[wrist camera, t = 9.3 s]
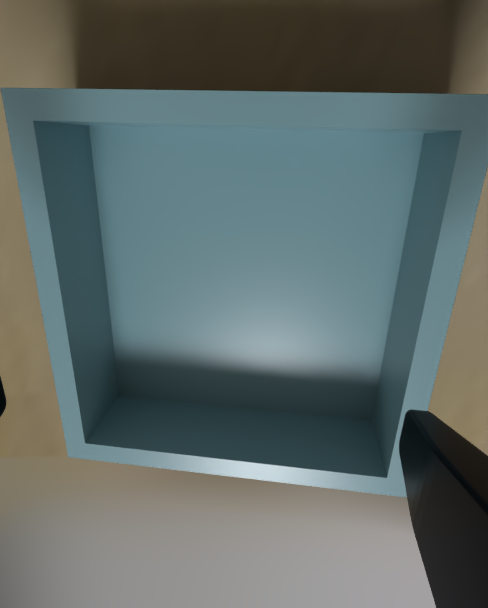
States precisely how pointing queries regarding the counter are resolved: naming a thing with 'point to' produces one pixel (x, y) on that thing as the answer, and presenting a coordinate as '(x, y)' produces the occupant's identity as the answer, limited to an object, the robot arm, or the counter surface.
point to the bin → (247, 271)
